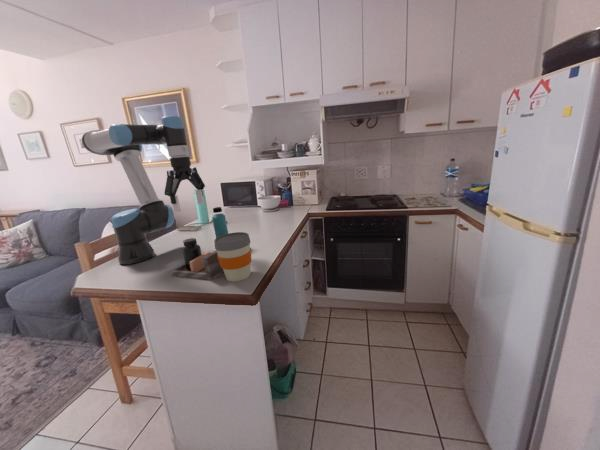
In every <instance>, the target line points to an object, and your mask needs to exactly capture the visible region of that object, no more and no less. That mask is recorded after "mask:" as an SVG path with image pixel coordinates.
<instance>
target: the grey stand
mask: <svg viewBox="0 0 600 450" xmlns="http://www.w3.org/2000/svg"><path fill="white" fill-rule="evenodd" d="M217 255H218V253H217V250H216V249H215V250H213V251H212V252H211V253H210V254H209V255H207V256H205V257H204V258H203V261H204V266H205V268H203V269H202V270H200V271H198V272H191V271H188V270H187V269H186V265H185V263H183V264H182V265H179V266H178V267H176V268H174V269H173V270H171V276H172V277H176V278H177V277H178V278H187V279H188V278H189V279H198V280H207V281H208V280H210V281H212V280H214V279H215V278H217V277H218V276H219V275H221V274H222V273H224V271H223V268H221V266H220V263H219V260H218V257H217Z"/></svg>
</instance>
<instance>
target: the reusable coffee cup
mask: <svg viewBox="0 0 600 450" xmlns="http://www.w3.org/2000/svg"><path fill="white" fill-rule="evenodd" d="M228 233H229V232H228ZM214 249H215V251H216V250H217V253H218V255H217V257H218V260H219V263H220V266H221V268H223V273H224V277H225V278H226V281H229V282H240V281H243V280H245V279H248V278H249V277H250V276H251V274H252V273H251V263H252V248H251V238H250V236H249V233H247V232H242V231H239V232H238V231H236V232H230V233H229V234H225V235H222V236H219V237H217V238H216V237H215V238H214Z"/></svg>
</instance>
